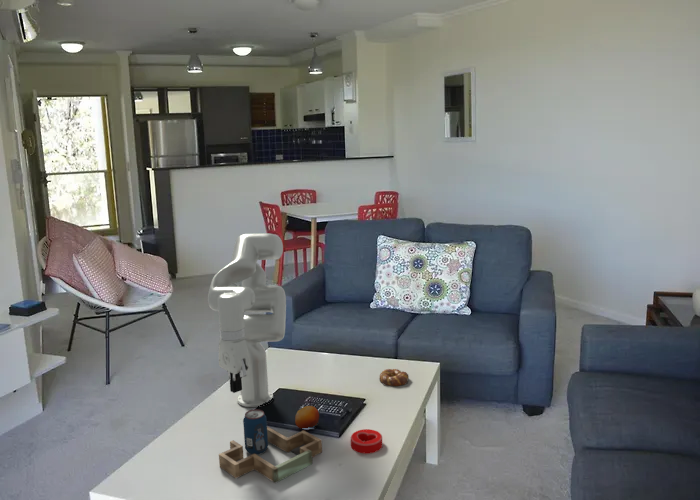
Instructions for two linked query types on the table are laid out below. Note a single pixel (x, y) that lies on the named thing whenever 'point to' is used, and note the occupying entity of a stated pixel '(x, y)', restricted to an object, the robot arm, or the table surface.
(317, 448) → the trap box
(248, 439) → the soda can
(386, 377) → the pretzel
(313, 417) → the fruit
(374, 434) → the decorative ornament
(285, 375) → the table surface
